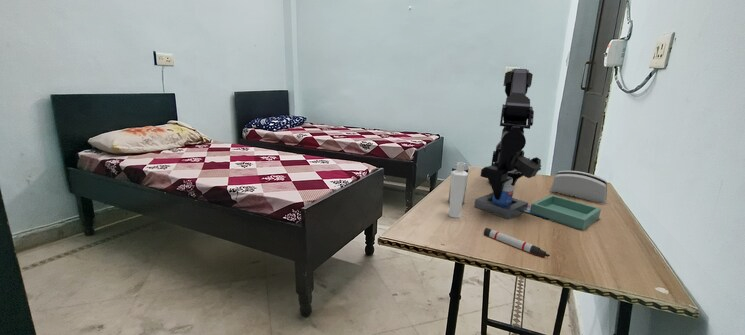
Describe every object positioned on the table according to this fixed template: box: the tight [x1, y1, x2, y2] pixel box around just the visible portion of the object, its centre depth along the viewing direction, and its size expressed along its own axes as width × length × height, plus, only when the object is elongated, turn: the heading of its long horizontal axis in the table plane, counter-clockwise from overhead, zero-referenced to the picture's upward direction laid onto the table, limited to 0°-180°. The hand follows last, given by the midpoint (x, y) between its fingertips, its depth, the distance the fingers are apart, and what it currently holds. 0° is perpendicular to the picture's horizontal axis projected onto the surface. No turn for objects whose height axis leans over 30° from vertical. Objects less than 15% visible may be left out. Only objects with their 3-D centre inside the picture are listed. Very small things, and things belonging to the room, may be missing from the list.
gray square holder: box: [474, 192, 529, 220], centre depth 103 cm, size 11×11×2 cm
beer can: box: [448, 162, 469, 204], centre depth 105 cm, size 5×5×12 cm
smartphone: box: [522, 204, 550, 221], centre depth 104 cm, size 8×1×15 cm
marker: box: [483, 227, 551, 258], centre depth 80 cm, size 15×2×2 cm, turn 44°
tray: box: [530, 194, 602, 231], centre depth 100 cm, size 14×14×3 cm
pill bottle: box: [492, 176, 515, 207], centre depth 102 cm, size 6×5×10 cm
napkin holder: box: [550, 170, 608, 204], centre depth 117 cm, size 17×5×10 cm, turn 53°
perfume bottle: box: [447, 161, 469, 219], centre depth 94 cm, size 5×4×15 cm
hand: (502, 197), depth 102 cm, fingers closed on pill bottle, 5 cm apart
